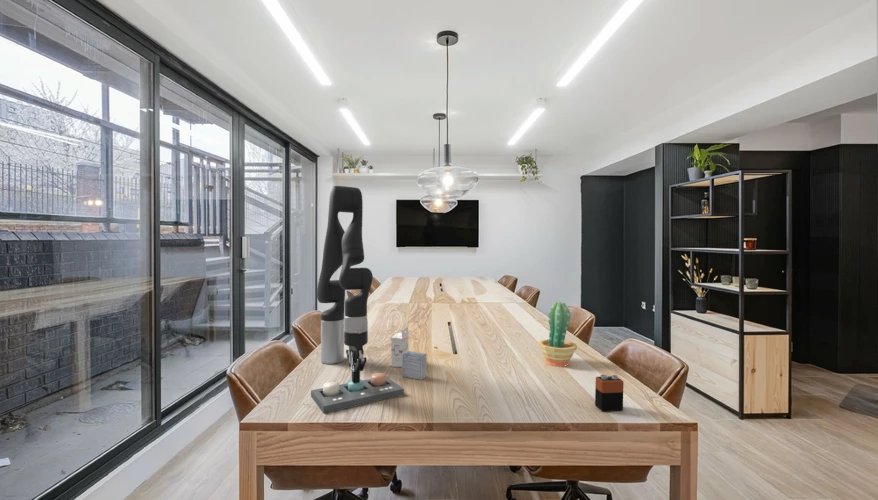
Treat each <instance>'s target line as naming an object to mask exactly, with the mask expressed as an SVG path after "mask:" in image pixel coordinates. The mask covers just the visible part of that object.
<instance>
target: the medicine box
mask: <svg viewBox="0 0 878 500" xmlns="http://www.w3.org/2000/svg"><path fill="white" fill-rule="evenodd" d="M427 373H428V372H427V353H425V352H419V351H412V350H408V351H407V352H405V353H404V354H403V367H402V377H403V378H409V379H414V380H415V379H416V380H421V381H422V380H423V379H424V378H426V377H427Z"/></svg>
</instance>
